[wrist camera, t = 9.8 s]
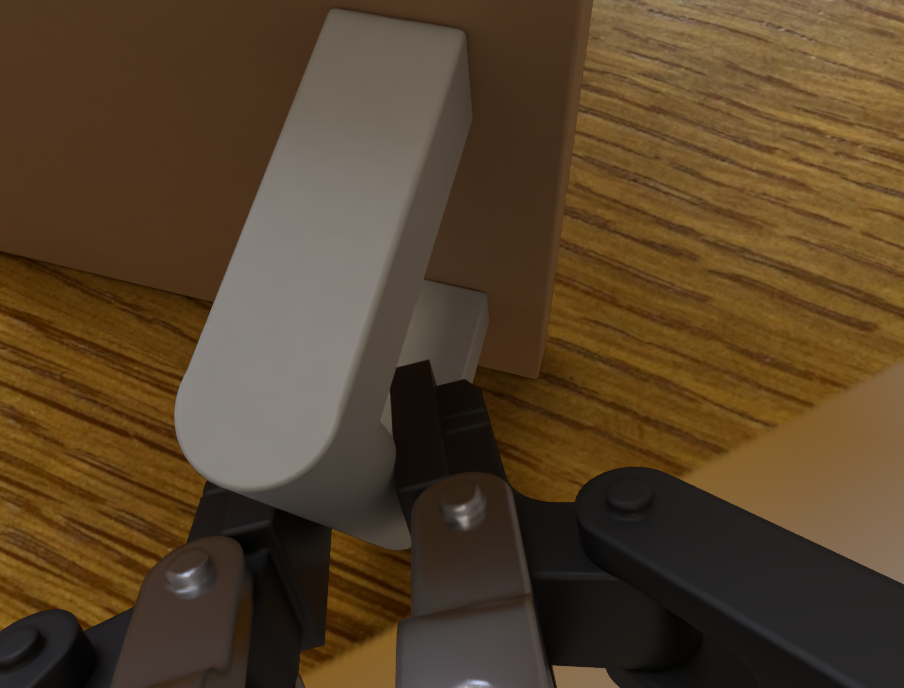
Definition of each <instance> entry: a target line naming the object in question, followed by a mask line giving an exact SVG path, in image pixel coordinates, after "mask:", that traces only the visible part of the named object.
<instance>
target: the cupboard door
mask: <svg viewBox="0 0 904 688" xmlns="http://www.w3.org/2000/svg"><path fill="white" fill-rule="evenodd" d="M592 5H593V0H0V251H2V252H6V253H10V254H14V255H18V256H23V257H27V258H31V259H35V260H39V261H44V262H48V263H52V264H56V265H60V266H64V267H69V268H73V269H77V270H81V271H85V272H89V273H94V274H98V275H102V276H106V277H110V278H114V279H119V280H123V281H127V282H131V283H135V284H139V285H144V286H148V287H152V288H156V289H160V290H164V291H169V292H173V293H177V294H181V295H185V296H190V297H194V298H198V299H202V300H206V301H210V302H214V304H213V306H212V309H211V311H210V314H209V316H208V319H207V321H206V324H205V326H204V329H203V331H202V334H201V337H200V339H199V342H198V344H197V347H196V349H195V352H194V354H193V357H192V359H191V362H190V364H189V367H188V369H187V372H186V373H185V375H184V378H183V380H182V382H181V384H180V387H179V390H178V393H177V397H176V402H175V413H174V419H175V430H176V435H177V439H178V442H179V445H180V447H181V450H182V452H183V454H184V455H185V457H186V459H187V460H188V462H189V463H190V464H191V466H192V467H193V468H194V469H195V470H196V471H197V472H198V473H199V474H200V475H201V476H203V477H204V478H205V479H207V480H208V481H210V482H212V483H213V484H215V485H217V486H219V487H222V488H225V489H227V490H230V491H233V492H236V493H238V494H241V495H244V496H246V497H249V498H252V499H254V500H257V501H260V502H262V503H265V504H268V505H270V506H273V507H276V508H278V509H281V510H284V511H286V512H289V513H292V514H294V515H297V516H300V517H302V518H305V519H308V520H311V521H313V522H316V523H319V524H321V525H324V526H327V527H329V528H332V529H335V530H337V531H340V532H343V533H345V534H348V535H351V536H353V537H356V538H359V539H361V540H364V541H367V542H369V543H372V544H375V545H377V546H380V547H383V548H386V549H390V550H403V549H408V548H411V537H410V533H409V530H408V527H407V524H406V521H405V518H404V515H403V512H402V509H401V505H400V502H399V499H398V496H397V493H396V484H395V468H394V465H395V460H396V447H395V443H394V440H393V435H392V418H391V401H390V386H391V383H392V380H393V376H394V373H395V370H396V367H400V366H404V365H408V364H412V363H416V362H420V361H424V360H428V359H429V360H430V363H431V366H432V370H433V373H434V377H435V381H436V384H437V386H438V385H442V384H446V383H450V382H454V381H458V380H462V379H466V380H467V381H469V382H470V383H473V379H474V376H475V372H476V368H477V366H482V367H486V368H490V369H494V370H498V371H502V372H507V373H511V374H515V375H519V376H523V377H527V378H532V379H537V378H538V375H539V371H540V367H541V363H542V359H543V355H544V351H545V346H546V339H547V331H548V324H549V317H550V310H551V302H552V295H553V288H554V281H555V273H556V266H557V259H558V251H559V244H560V237H561V230H562V222H563V215H564V208H565V201H566V193H567V186H568V179H569V172H570V164H571V157H572V150H573V143H574V135H575V128H576V121H577V113H578V106H579V99H580V92H581V84H582V77H583V70H584V63H585V55H586V48H587V41H588V34H589V26H590V19H591V12H592Z"/></svg>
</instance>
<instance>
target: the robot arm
mask: <svg viewBox="0 0 904 688" xmlns="http://www.w3.org/2000/svg"><path fill="white" fill-rule="evenodd" d="M390 401H391V418H392V435H393V440H394V443H395V447H396V460H395V465H394V468H395V484H396V493H397V496H398V499H399V502H400V505H401V509H402V512H403V515H404V518H405V521H406V524H407V527H408V530H409V533H410V537H411V618H406V619H402V620H400V621H399V624H398V628H397V641H396V642H397V644H396V645H397V646H396V685H395V686H396V687H395V688H557V686H556V681H555V676H554V671H553V666H552V665H557V666H575V667H595V668H606V670H607V673H608V675H609V676H610V678H611V679H612V680H613V682H615V683H616V684H617V685H618V686H619V687H620V688H904V584H902V583H899V582H898V581H895V580H893V579H891V578H889V577H887V576H885V575H883V574H880V573H878V572H876V571H874V570H872V569H870V568H868V567H866V566H863V565H861V564H859V563H857V562H855V561H853V560H851V559H848V558H846V557H844V556H842V555H840V554H837V553H836V552H833V551H831V550H829V549H827V548H825V547H823V546H821V545H818V544H816V543H814V542H812V541H810V540H808V539H806V538H804V537H802V536H799V535H797V534H795V533H793V532H791V531H788V530H786V529H784V528H782V527H780V526H778V525H776V524H774V523H772V522H770V521H767V520H765V519H763V518H761V517H759V516H756V515H755V514H752V513H750V512H748V511H746V510H744V509H742V508H740V507H738V506H735V505H733V504H731V503H729V502H727V501H725V500H723V499H720V498H718V497H716V496H714V495H712V494H710V493H708V492H706V491H703V490H701V489H699V488H697V487H695V486H693V485H691V484H688V483H686V482H684V481H682V480H680V479H678V478H676V477H674V476H671V475H669V474H667V473H665V472H662V471H659V470H655V469H651V468H644V467H626V468H619V469H614V470H611V471H607V472H604V473H602V474H600V475H598V476H596V477H594V478H593V479H591V480H590V481H588V482H587V483H586V484H585V485H584V486H583V487H582V488H581V490H580V491H579V493H578V495H577V496H576V500H575V502H544V501H539V500H535V499H531V498H529V497H526V496H524V495H522V494H521V493H519V492H517V491H516V490H515V489H514V488H513V487H512V486H511V485H510V483H509V482H508V480H507V478H506V475H505V471H504V468H503V464H502V461H501V457H500V454H499V450H498V447H497V443H496V440H495V437H494V433H493V430H492V426H491V423H490V419H489V416H488V412H487V409H486V405H485V402H484V399H483V395H482V392H481V390H480V389H478V388H477V387H476V386H474V385H473V384H472V383H470V382H469V381H467V380H466V379H462V380H458V381H454V382H450V383H446V384H442V385H438V386H437V384H436V381H435V377H434V373H433V370H432V366H431V363H430V360H429V359H428V360H424V361H420V362H416V363H412V364H408V365H404V366H400V367H396V370H395V373H394V376H393V380H392V383H391V386H390ZM331 531H332V528H329V527H327V526H324V525H321V524H319V523H316V522H313V521H311V520H308V519H305V518H302V517H300V516H297V515H294V514H292V513H289V512H286V511H284V510H281V509H278V508H276V507H273V506H270V505H268V504H265V503H262V502H260V501H257V500H254V499H252V498H249V497H246V496H244V495H241V494H238V493H236V492H233V491H230V490H227V489H225V488H222V487H219V486H217V485H215V484H213V483H212V482H210V481H206V484H205V487H204V490H203V497H201V500H200V503H199V506H198V509H197V512H196V515H195V518H194V521H193V524H192V527H191V531H190V534H189V537H188V540H187V543H186V544H184V545H182V546H180V547H179V548H177V549H175V550H173V551H172V552H170V553H169V554H167V555H166V556H165V557H164V558H162V559H161V560H160V561H159V562H158V563H157V564H156V565H155V566H154V567H153V568H152V569H151V570H150V571H149V573H148V574H147V575H146V577H145V579H144V580H143V582H142V585H141V587H140V591H139V594H138V597H137V600H136V604H135V606H134V607H132V608H130V609H128V610H127V611H125V612H123V613H120V614H118V615H116V616H114V617H112V618H110V619H108V620H106V621H104V622H102V623H100V624H98V625H95V626H93V627H91V628H89V629H87V630H85V631H84V630H83V629H82V627H81V626H80V624H79V622H78V621H77V619H76V618H75V616H74V615H73V614H72V613H71V612H68V611H66V610H60V609H53V610H46V611H41V612H38V613H35V614H32V615H29V616H27V617H25V618H22V619H20V620H18V621H17V622H15V623H13V624H11V625H10V626H8V627H6V628H5V629H3V630H2V631H0V688H305V686H304V683H303V681H302V678H301V676H300V674H299V672H298V671H299V662H300V652H301V651H303V650H307V649H311V648H315V647H319V646H323V645H325V629H326V613H327V597H328V580H329V564H330V548H331Z"/></svg>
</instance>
